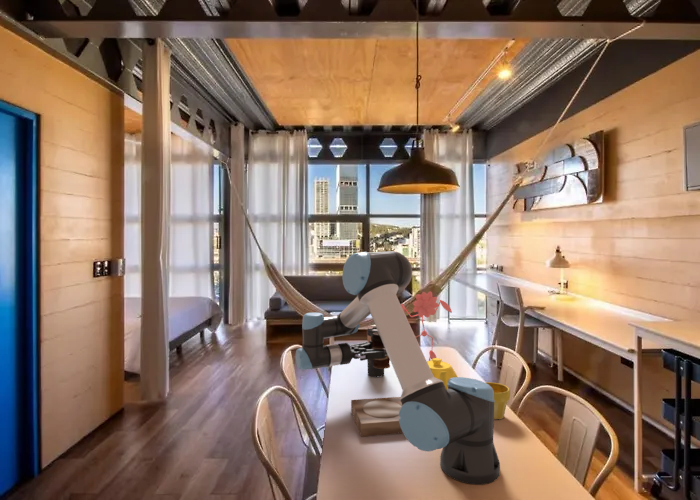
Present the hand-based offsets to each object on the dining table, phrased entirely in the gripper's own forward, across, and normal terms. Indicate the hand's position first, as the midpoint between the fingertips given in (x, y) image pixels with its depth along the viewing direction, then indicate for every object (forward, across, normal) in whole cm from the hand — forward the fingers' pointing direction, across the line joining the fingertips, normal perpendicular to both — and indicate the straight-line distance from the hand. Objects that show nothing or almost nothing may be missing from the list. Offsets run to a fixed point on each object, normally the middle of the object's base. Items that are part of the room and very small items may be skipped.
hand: (392, 347), depth 160 cm
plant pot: (+21, +32, -18) cm, 42 cm away
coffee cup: (-5, 0, -7) cm, 9 cm away
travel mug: (+4, -21, -18) cm, 27 cm away
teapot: (+14, +9, -18) cm, 25 cm away
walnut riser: (-15, +20, -18) cm, 31 cm away
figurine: (+30, -21, -18) cm, 40 cm away
